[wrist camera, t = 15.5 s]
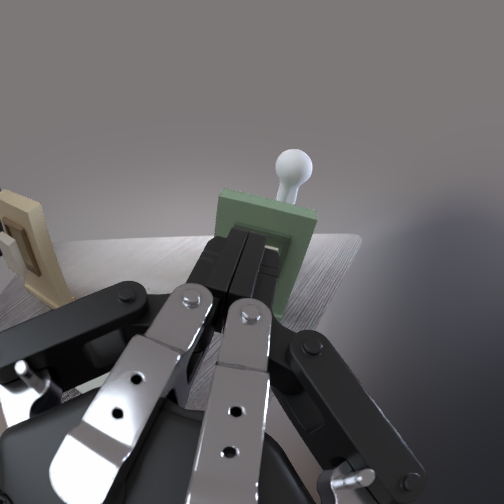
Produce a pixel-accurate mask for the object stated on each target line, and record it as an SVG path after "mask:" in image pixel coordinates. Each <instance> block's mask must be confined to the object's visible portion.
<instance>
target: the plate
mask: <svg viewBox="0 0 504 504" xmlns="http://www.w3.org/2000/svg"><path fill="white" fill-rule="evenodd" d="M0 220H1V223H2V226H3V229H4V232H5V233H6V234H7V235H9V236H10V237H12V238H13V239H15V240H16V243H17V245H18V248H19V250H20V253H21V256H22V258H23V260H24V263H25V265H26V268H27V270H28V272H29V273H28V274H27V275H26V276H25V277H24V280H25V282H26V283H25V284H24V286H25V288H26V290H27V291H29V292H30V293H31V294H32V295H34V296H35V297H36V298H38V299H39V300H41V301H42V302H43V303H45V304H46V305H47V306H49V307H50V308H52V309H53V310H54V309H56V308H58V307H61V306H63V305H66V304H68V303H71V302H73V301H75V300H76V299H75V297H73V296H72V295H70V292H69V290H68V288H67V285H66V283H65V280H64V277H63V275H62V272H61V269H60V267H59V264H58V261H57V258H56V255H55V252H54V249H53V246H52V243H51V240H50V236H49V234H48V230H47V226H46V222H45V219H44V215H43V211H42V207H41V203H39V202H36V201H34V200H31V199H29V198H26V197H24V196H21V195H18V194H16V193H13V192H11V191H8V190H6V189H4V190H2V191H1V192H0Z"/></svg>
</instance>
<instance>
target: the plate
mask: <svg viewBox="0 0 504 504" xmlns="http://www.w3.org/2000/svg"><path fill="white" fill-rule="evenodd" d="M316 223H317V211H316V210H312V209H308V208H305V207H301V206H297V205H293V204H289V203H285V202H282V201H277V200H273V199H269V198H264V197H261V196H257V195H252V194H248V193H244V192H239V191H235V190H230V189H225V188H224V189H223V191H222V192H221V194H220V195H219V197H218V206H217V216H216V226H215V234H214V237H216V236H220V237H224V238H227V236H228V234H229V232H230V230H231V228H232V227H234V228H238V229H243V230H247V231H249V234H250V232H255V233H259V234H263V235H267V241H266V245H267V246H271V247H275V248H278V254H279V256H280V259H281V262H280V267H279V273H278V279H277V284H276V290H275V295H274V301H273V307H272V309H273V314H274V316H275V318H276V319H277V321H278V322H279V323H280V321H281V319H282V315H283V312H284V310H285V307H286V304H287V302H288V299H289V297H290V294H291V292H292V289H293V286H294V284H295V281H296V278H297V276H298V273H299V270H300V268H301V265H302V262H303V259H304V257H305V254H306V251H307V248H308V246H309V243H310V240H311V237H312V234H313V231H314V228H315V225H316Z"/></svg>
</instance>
